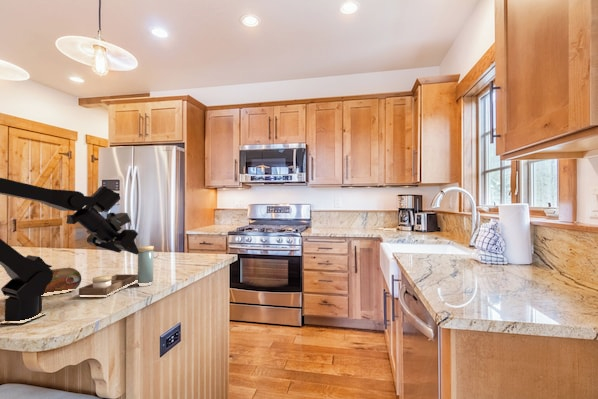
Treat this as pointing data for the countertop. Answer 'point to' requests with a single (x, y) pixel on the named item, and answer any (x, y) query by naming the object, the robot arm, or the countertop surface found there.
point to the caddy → (116, 283)
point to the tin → (64, 280)
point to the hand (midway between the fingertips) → (129, 252)
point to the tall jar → (145, 264)
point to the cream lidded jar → (102, 281)
